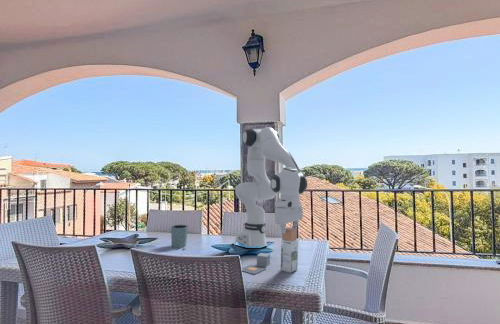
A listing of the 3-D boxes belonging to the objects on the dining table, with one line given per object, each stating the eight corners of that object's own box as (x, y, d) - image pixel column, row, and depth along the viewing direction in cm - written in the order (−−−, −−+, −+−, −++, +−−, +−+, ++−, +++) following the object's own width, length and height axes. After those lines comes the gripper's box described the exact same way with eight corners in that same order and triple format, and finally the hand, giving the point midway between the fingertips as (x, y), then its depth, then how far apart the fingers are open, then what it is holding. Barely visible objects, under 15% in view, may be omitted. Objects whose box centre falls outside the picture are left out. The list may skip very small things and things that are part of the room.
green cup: (175, 243, 186) (175, 224, 186) (190, 244, 184) (190, 225, 184) (167, 247, 176) (167, 227, 176) (183, 249, 174) (183, 228, 174)
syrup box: (287, 267, 144) (287, 237, 144) (297, 270, 140) (298, 239, 140) (280, 270, 139) (280, 239, 140) (291, 273, 136) (291, 241, 136)
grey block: (256, 265, 146) (256, 255, 146) (260, 262, 151) (260, 252, 151) (266, 267, 144) (266, 256, 144) (269, 264, 149) (269, 254, 149)
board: (239, 270, 139) (239, 269, 139) (250, 265, 146) (250, 264, 146) (254, 274, 133) (254, 273, 133) (266, 269, 140) (266, 268, 140)
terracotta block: (282, 239, 140) (282, 228, 140) (287, 237, 144) (287, 227, 144) (291, 241, 137) (291, 230, 137) (296, 239, 141) (296, 228, 141)
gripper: (294, 199, 151) (294, 227, 150) (272, 203, 134) (272, 234, 134) (306, 200, 147) (305, 228, 146) (284, 204, 131) (284, 236, 130)
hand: (289, 231), depth 140 cm, fingers open, 8 cm apart
